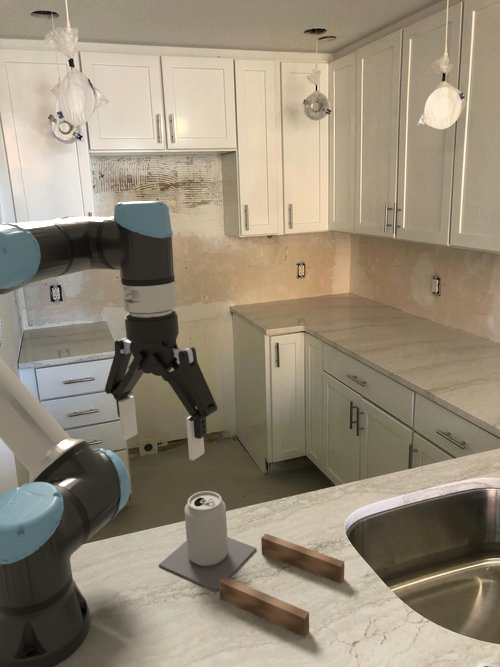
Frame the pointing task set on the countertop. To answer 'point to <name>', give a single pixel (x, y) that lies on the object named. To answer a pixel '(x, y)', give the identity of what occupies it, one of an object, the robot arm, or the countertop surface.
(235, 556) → the mat
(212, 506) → the can
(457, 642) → the countertop surface
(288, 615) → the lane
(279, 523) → the countertop surface
